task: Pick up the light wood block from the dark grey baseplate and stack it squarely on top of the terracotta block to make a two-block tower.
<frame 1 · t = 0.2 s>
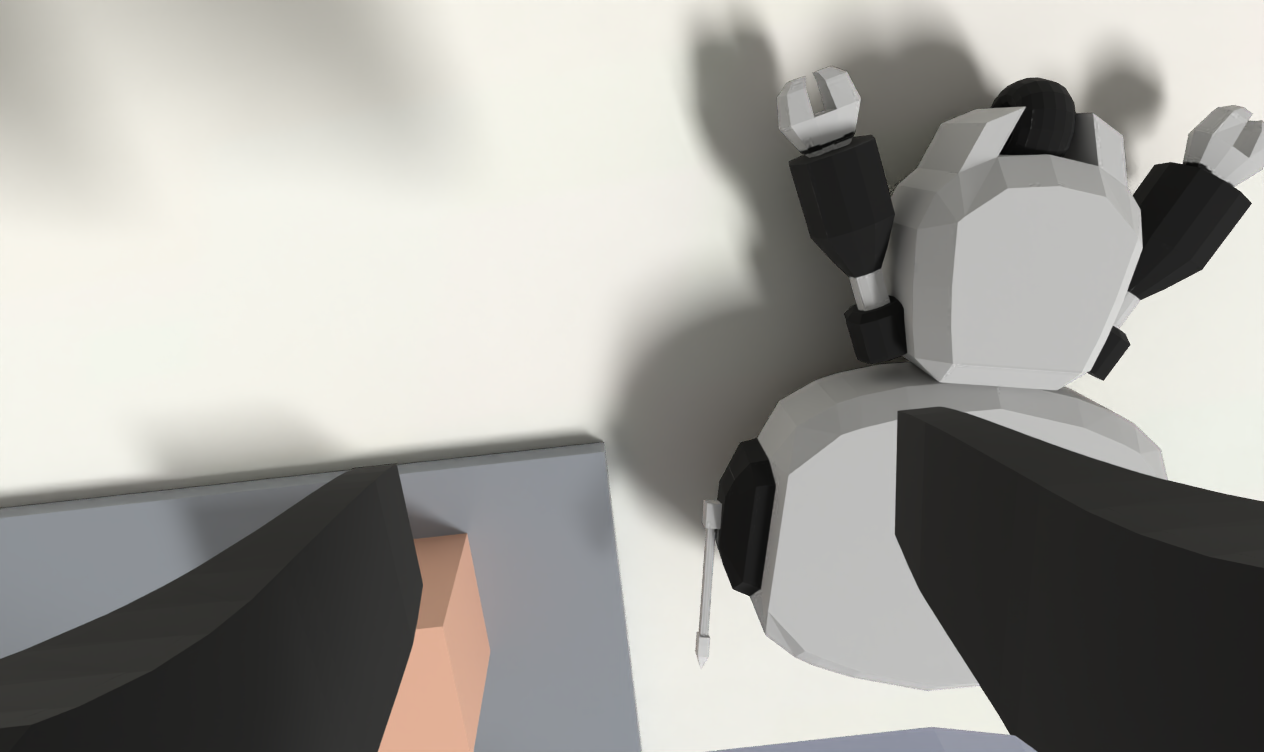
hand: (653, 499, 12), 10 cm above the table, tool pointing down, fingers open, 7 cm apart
base brick: (408, 601, 23), point 1 cm above the table, touching baseplate
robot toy: (926, 366, 23), on the table
baseplate: (340, 709, 25), on the table
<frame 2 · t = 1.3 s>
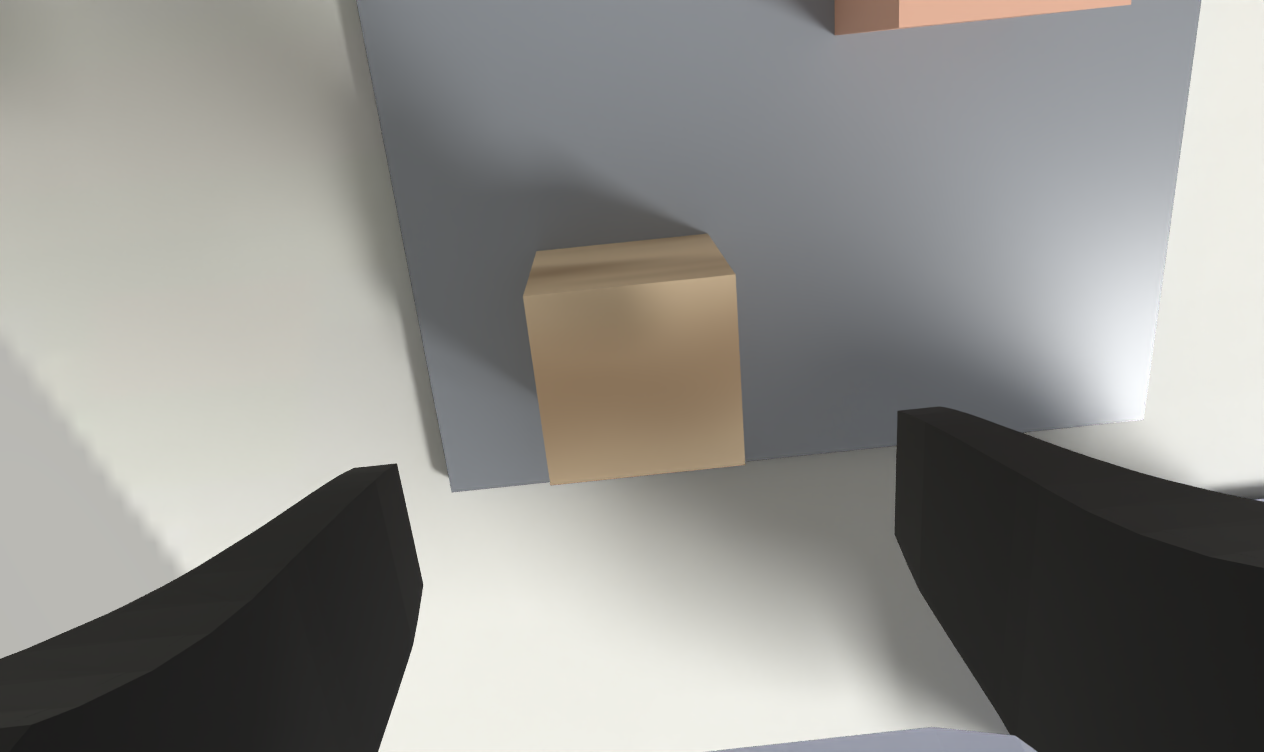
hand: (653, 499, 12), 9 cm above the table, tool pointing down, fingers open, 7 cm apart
top brick: (630, 324, 20), point 1 cm above the table, touching baseplate
baseplate: (785, 133, 19), on the table
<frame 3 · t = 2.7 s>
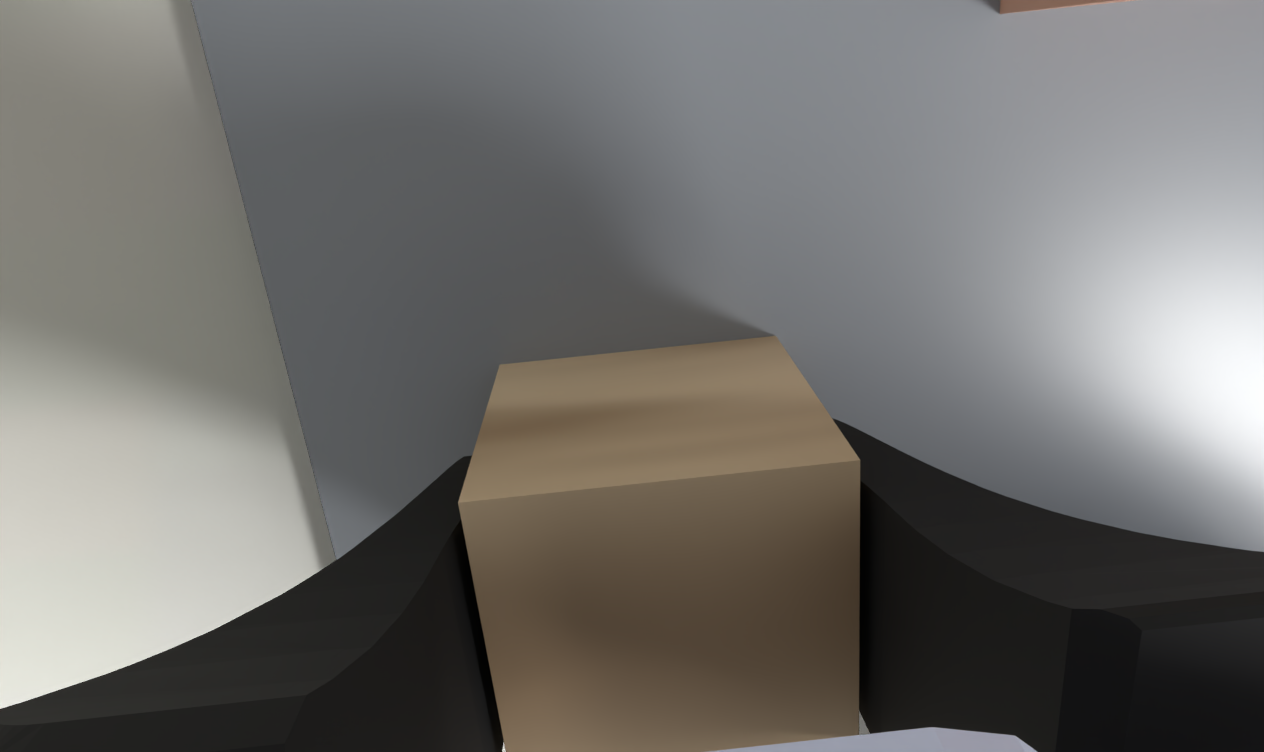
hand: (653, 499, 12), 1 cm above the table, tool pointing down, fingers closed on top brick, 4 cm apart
top brick: (649, 473, 13), point 1 cm above the table, touching baseplate, gripper
baseplate: (901, 175, 12), on the table
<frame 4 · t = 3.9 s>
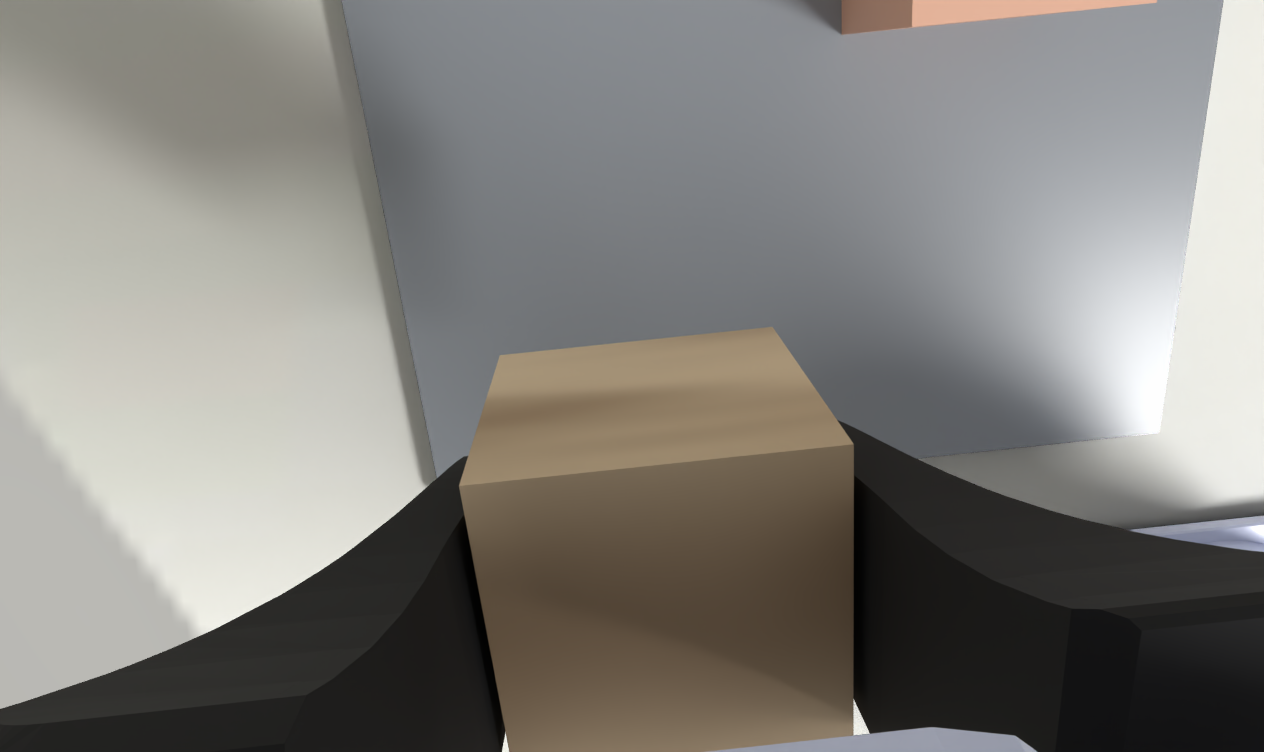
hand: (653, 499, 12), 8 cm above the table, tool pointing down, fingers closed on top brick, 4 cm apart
top brick: (648, 463, 13), point 7 cm above the table, touching gripper
baseplate: (789, 137, 18), on the table
when the fingers open (6 cm above the table, at t = 5.6 s): top brick stays where it is, resting on base brick.
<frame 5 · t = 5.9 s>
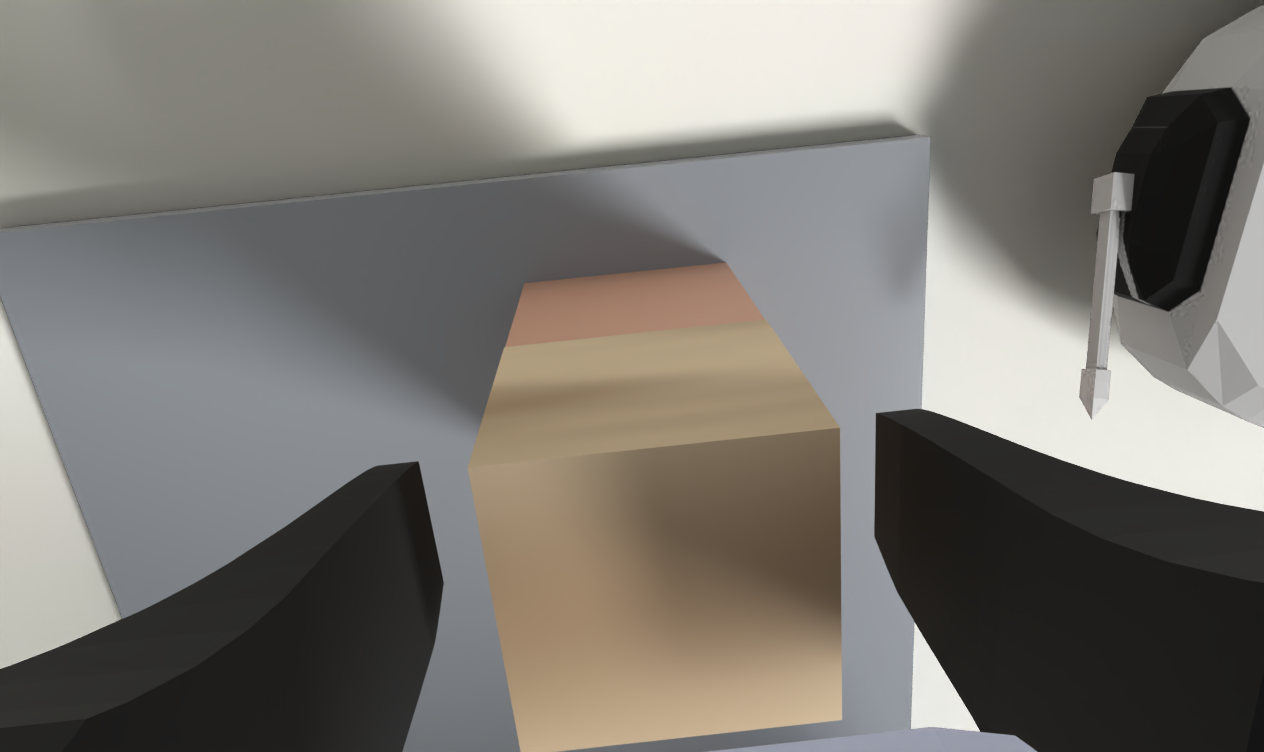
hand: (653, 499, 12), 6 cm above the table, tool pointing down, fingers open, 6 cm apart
base brick: (634, 367, 17), point 1 cm above the table, touching baseplate, top brick
top brick: (647, 451, 13), point 5 cm above the table, touching base brick
baseplate: (519, 534, 19), on the table
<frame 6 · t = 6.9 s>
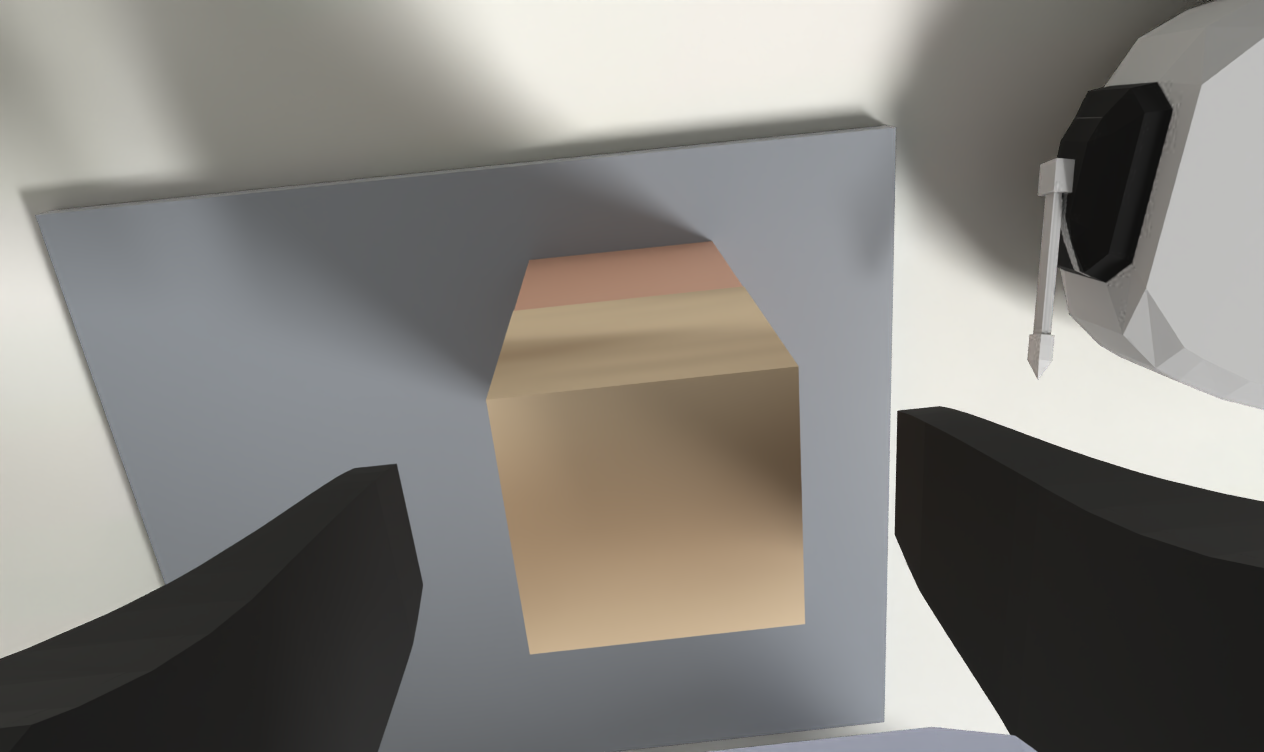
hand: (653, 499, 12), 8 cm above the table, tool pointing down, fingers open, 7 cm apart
base brick: (629, 337, 19), point 1 cm above the table, touching baseplate, top brick
top brick: (639, 404, 15), point 5 cm above the table, touching base brick
baseplate: (524, 493, 21), on the table
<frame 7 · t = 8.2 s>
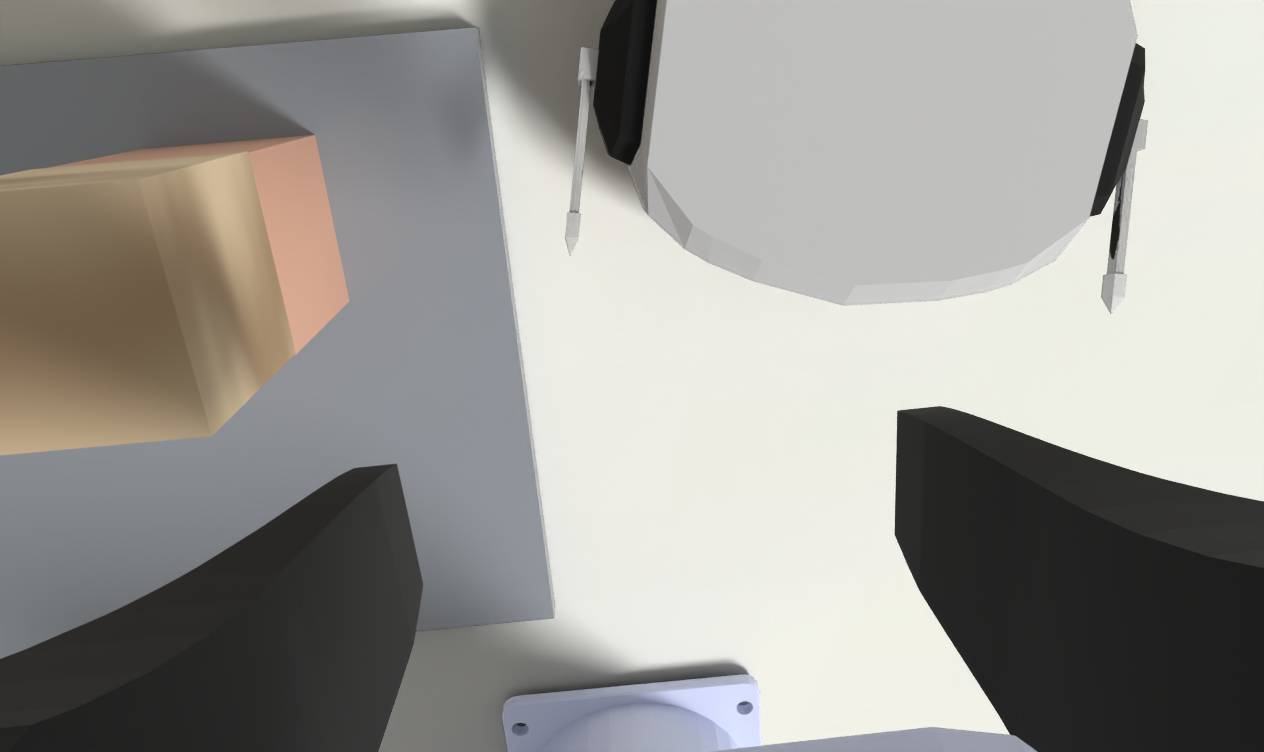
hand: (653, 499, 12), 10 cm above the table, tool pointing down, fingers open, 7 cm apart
base brick: (249, 228, 20), point 1 cm above the table, touching baseplate, top brick
top brick: (169, 265, 16), point 5 cm above the table, touching base brick
baseplate: (180, 384, 22), on the table
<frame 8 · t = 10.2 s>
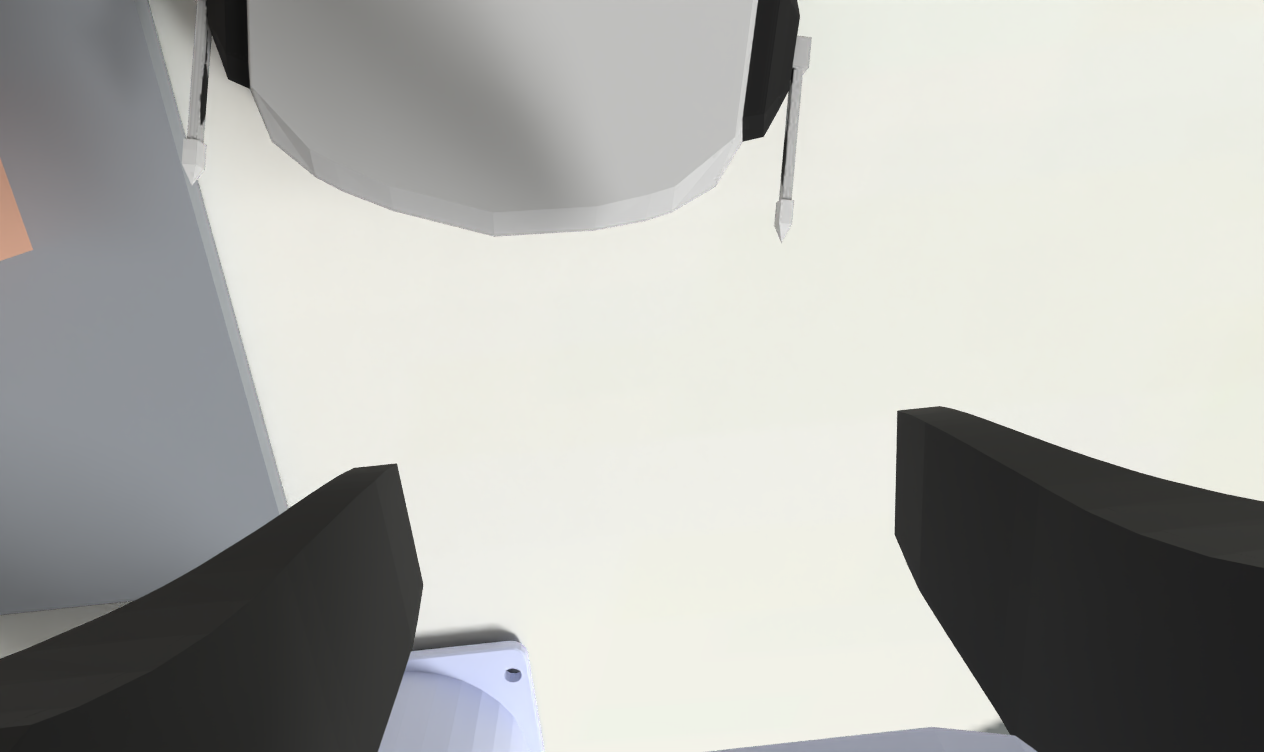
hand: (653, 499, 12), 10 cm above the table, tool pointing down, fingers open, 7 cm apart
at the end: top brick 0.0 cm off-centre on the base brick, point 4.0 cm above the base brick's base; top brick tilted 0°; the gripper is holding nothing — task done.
